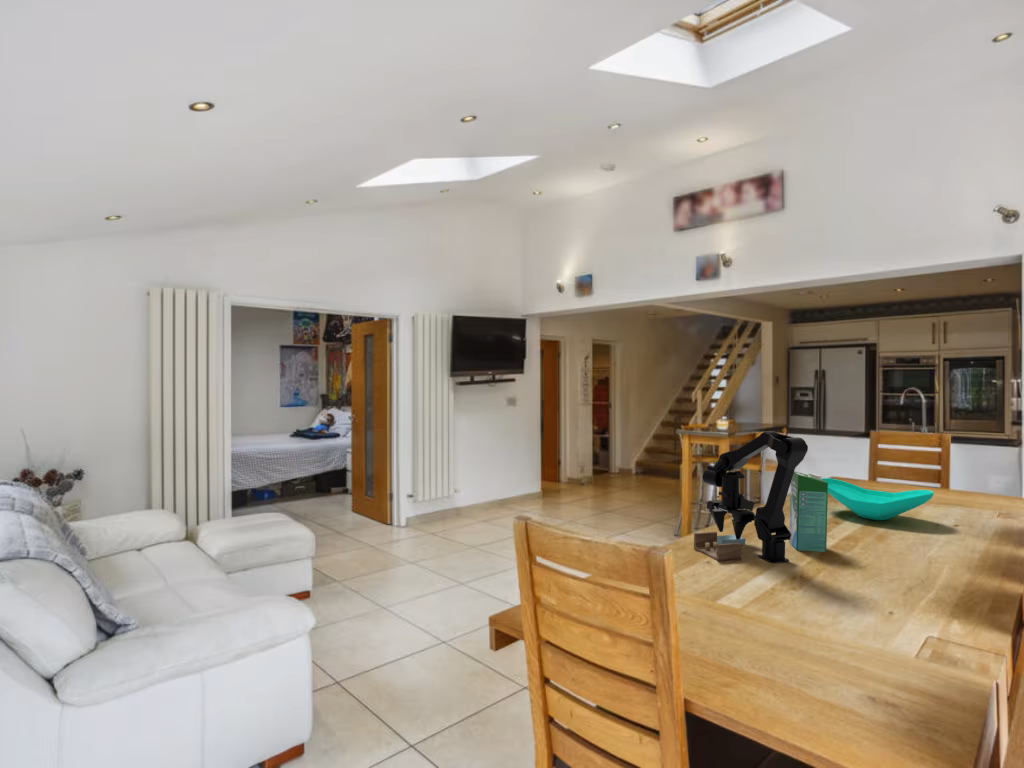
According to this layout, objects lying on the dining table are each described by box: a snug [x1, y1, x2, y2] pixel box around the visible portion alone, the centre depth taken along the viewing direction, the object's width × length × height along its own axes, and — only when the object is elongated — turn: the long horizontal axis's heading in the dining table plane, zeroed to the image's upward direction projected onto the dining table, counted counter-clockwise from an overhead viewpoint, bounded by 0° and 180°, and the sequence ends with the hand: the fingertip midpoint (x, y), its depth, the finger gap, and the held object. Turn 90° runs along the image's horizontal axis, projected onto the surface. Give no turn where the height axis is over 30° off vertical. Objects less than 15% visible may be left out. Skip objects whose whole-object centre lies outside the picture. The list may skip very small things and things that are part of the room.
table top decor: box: [821, 477, 935, 521], centre depth 234 cm, size 40×28×13 cm
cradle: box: [693, 531, 742, 562], centre depth 186 cm, size 14×8×5 cm, turn 15°
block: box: [717, 534, 746, 546], centre depth 197 cm, size 9×5×2 cm, turn 105°
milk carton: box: [788, 470, 829, 553], centre depth 193 cm, size 9×9×25 cm
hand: (729, 535), depth 197 cm, fingers open, 9 cm apart
